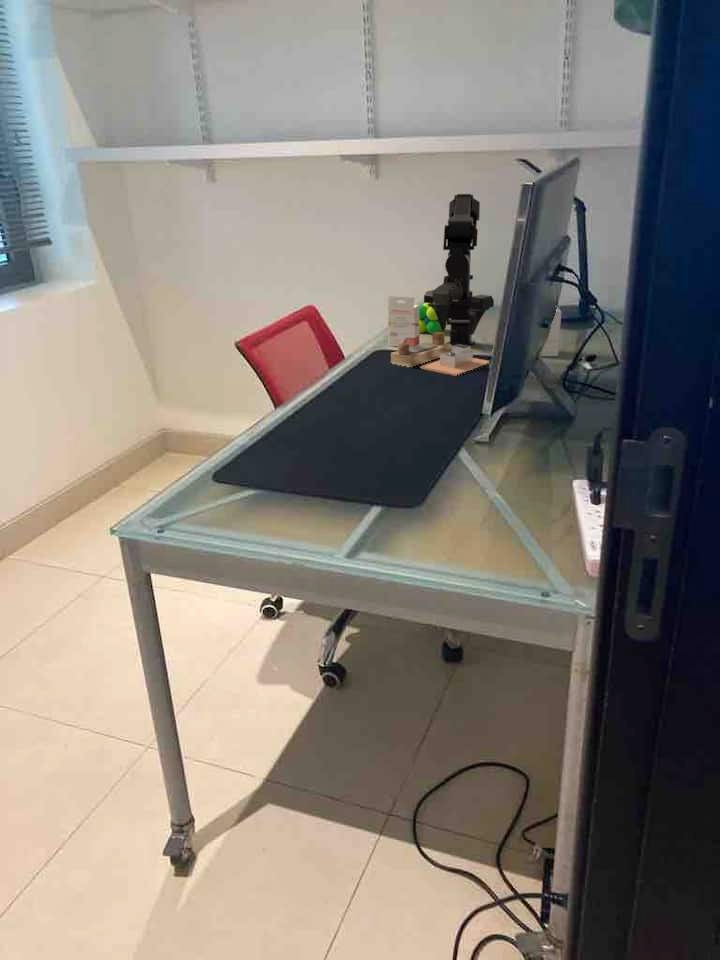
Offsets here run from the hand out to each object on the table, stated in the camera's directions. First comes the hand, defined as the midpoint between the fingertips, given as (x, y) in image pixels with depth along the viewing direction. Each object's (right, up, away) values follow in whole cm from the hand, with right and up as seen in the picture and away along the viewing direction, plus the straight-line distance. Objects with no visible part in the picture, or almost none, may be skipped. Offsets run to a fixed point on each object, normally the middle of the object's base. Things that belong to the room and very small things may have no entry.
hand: (457, 332), depth 201 cm
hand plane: (-8, -5, +11) cm, 15 cm away
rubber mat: (0, -8, +4) cm, 9 cm away
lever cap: (0, -8, +4) cm, 9 cm away
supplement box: (+26, -3, +14) cm, 30 cm away
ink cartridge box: (-13, +1, +28) cm, 30 cm away
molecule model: (-3, +8, +44) cm, 44 cm away
